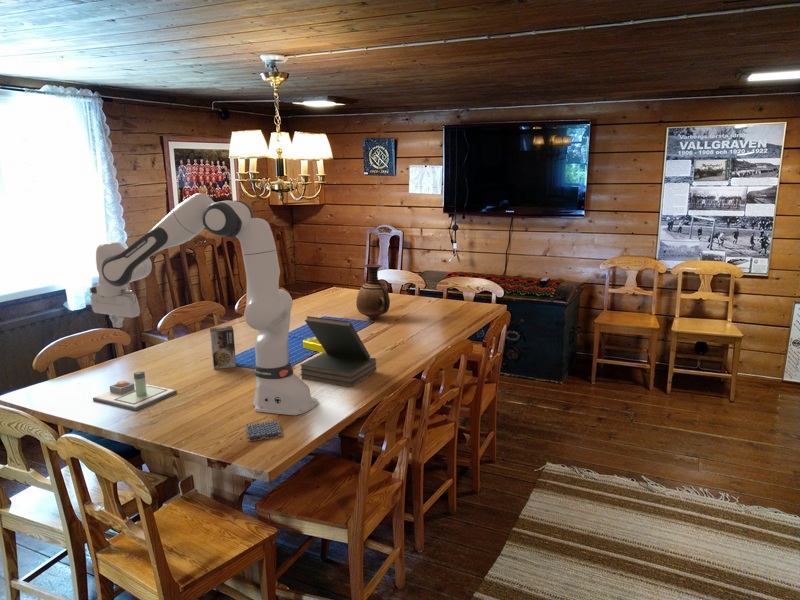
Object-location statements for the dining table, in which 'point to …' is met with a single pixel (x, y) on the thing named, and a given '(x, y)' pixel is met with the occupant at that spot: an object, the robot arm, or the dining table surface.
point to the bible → (337, 354)
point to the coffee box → (223, 347)
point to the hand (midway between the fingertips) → (117, 327)
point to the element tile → (313, 344)
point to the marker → (140, 383)
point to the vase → (373, 295)
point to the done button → (121, 384)
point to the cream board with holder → (133, 396)
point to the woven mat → (263, 430)
